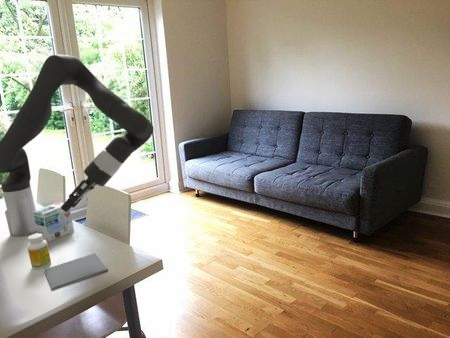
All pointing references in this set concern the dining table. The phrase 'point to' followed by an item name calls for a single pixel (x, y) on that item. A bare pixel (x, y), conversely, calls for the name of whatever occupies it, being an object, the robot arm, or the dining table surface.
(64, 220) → the light bulb box
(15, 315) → the dining table surface
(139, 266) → the dining table surface
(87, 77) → the robot arm
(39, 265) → the supplement bottle
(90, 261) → the placemat
